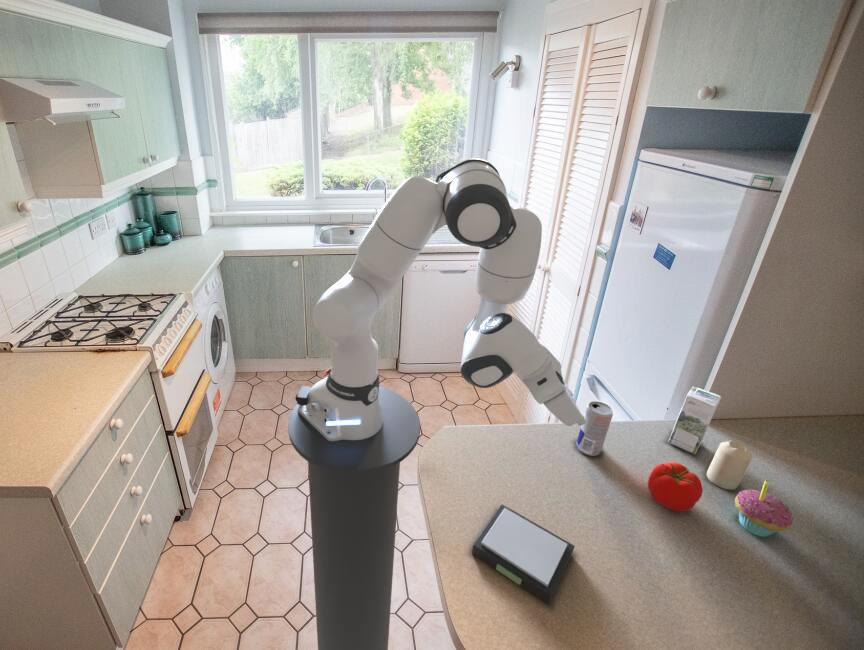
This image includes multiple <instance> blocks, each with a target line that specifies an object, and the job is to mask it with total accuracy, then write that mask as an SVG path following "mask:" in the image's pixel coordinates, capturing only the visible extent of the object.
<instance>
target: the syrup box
mask: <svg viewBox="0 0 864 650" xmlns="http://www.w3.org/2000/svg"><path fill="white" fill-rule="evenodd" d="M721 399H722V396H721V395H719V394H717V393H713V392H711V391H709V390H705V389H702V388H700V387H697V386H694V385H692V387H691V388H690V390H689V391H688V393H687V394H686V397H685V399H684V402H683V404H682V406H681V408H680V412H679V414H678V416H677V419H676V422H675V424H674V426H673V428H672V432H671V434H670V436H669V439H668V441H667V443H668V444H669V445H672V446H675V447H677V448H678V449H681V450H683V451H685V452H687V453H690V454H692V455H696V454H697V452H698V450H699V448H700V446H701V444H702V442H703V440H704V437H705V435H706V433H707V430H708V428H709V425H710V423H711V421H712V419H713V417H714V415H715V413H716V411H717V409H718V406H719V404H720V401H721Z"/></svg>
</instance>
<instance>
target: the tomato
mask: <svg viewBox="0 0 864 650" xmlns="http://www.w3.org/2000/svg"><path fill="white" fill-rule="evenodd" d="M690 471H691V470H690V469H688V468H687V467H686V466H685V465H683V464H682V463H678V462H666V463H660V464H657V465H656V466H655V467H653V469H652V470H651V473H650V474H649V476H648V480H647V489H648V490H649V491H650V496H651V497H652V498H653V500H654V501H655V502H657V503H658V504H659V505H661V506H663V507H665V508H668V509H671V510H672V511H676V512H687V511H690V510H692V509H693V508H694V507H695V505H696V503H697V502H699V500H700V499H701V498H702V495H703V485H702V481H701V479H700V478H699V477H698V476H697V474H696V473H694V472H690Z"/></svg>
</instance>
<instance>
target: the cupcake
mask: <svg viewBox="0 0 864 650" xmlns="http://www.w3.org/2000/svg"><path fill="white" fill-rule="evenodd" d="M769 485H770V482H769V481H768V478H766V479H765V481H764V482H763V486H762V488H761V490H756V489H750V488H749V489H743V490H740V491H739V492H738V493H737V495H736V496H735V498H734V505H735V508H736V510H738V522H739V524H740V525H742V526H741V527H743V528H744V529H745V530H746V531H747V532H750V533H751V534H753V535H755V536H758V537H768V536H770V535H772V534H774V533H776V532H781V533H784V532H786V531H789V530H791V529H792V527H793V523H794V519H795V517H794V516H793V513H792V511H791V510H790V508H789V506H787V505H786V504H785V503H784V502H783V501H782V500H781V499H780V498H777V497H776V496H775V495H773V494H770V493H767V491H768V488H769Z"/></svg>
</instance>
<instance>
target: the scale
mask: <svg viewBox="0 0 864 650" xmlns="http://www.w3.org/2000/svg"><path fill="white" fill-rule="evenodd" d="M574 549H575V544H573V543H570V542H569V541H567V540H565V539H564V538H562V537H560V536H559V535H556V534H555V533H553V532H552V531H549V530H547V528H545V527H543V526H541V525H539V524H538V523H536V522H534V521H532V520H530V519H529V518H527V517H525V516H524V515H522V514H520V513H519V512H517V511H514V510H513V509H511V508H510V507H508V506H507V505H504V504H502V503H501V505H499V507H498V509H496V511H495V513H494V514H493V516H492V517H491V519H490V520H489V521H488V523H487V525H486V526H485V527H484V529H483V530H482V531H481V533H480V535H479V536H478V537H477V539H476V540H475V542H474V543H473V545H472V550H471V554H472V555H473V556H475V557H476V558H477V559H479V560H481V561H482V562H484V563H485V564H486V565H488V566H490V567H491V568H493V569H494V570H496V571H498V572H499V573H500V574H502V575H503V576H505V577H506V578H508V579H509V580H510V581H512V582H514V583H515V584H517V585H518V586H520V587H521V588H522V589H524V590H526V591H527V592H529V593H530V594H532V595H533V596H535V598H538V599H539V600H541V601H542V602H544V603H545V604H547V605H550V603H551V600H552V598H553V596H554V594H555V591H556V590H557V588H558V586H559V584H560V581H561V579H562V577H563V575H564V572H565V570H566V568H567V566H568V564H569V562H570V560H571V558H572V556H573V552H574Z"/></svg>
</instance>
